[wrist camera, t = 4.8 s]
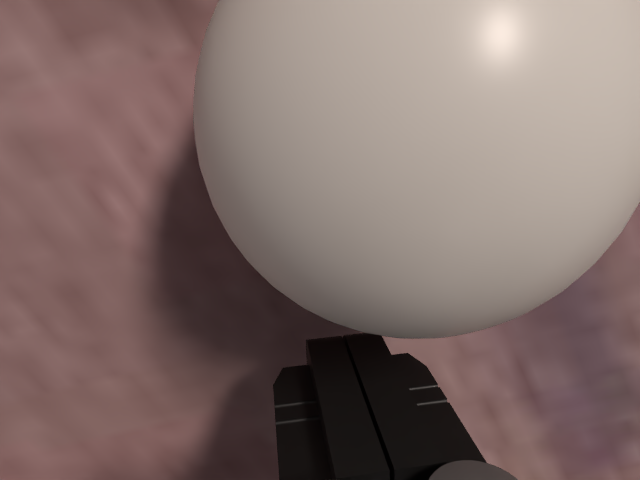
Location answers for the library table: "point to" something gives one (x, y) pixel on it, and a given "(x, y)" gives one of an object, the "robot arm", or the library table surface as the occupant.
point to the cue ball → (420, 151)
